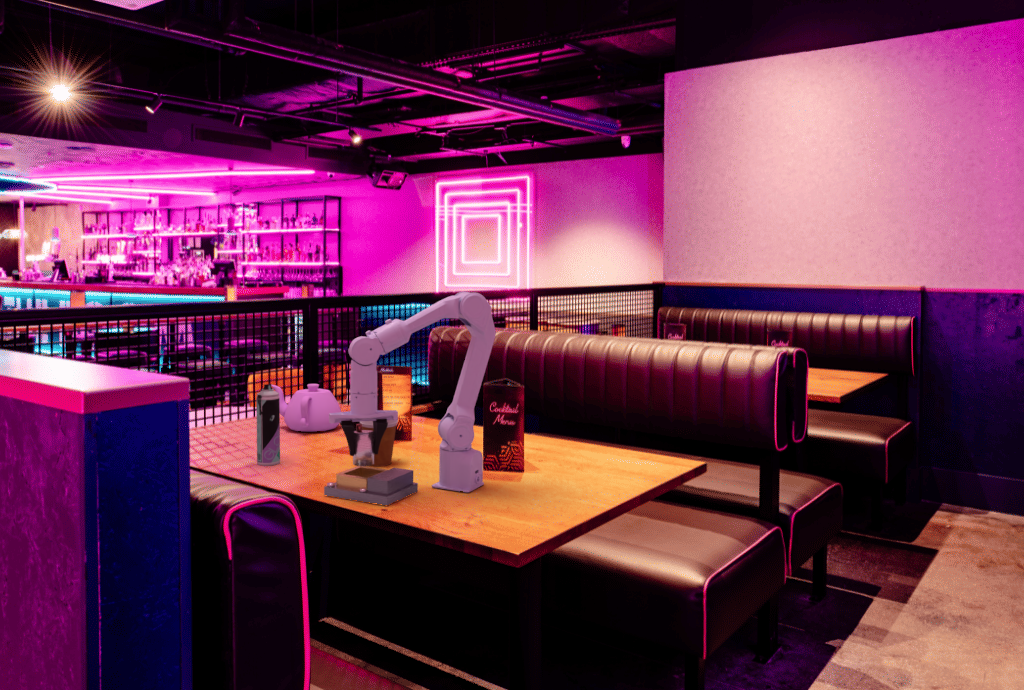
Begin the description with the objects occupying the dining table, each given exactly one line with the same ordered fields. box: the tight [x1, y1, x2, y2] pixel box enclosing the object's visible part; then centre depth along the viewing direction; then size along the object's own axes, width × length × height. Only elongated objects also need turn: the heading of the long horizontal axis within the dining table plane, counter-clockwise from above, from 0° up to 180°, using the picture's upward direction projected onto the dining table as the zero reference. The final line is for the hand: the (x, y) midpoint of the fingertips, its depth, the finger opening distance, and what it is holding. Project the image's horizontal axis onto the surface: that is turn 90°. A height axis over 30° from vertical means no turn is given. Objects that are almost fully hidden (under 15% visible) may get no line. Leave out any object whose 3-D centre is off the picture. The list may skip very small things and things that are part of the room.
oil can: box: [352, 423, 374, 467], centre depth 166 cm, size 4×4×9 cm
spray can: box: [255, 383, 281, 467], centre depth 189 cm, size 6×6×20 cm
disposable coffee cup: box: [359, 419, 399, 467], centre depth 192 cm, size 10×10×12 cm
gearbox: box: [323, 466, 419, 506], centre depth 165 cm, size 16×12×5 cm
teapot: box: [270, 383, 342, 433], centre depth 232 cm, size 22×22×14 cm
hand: (363, 454), depth 165 cm, fingers closed on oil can, 4 cm apart
